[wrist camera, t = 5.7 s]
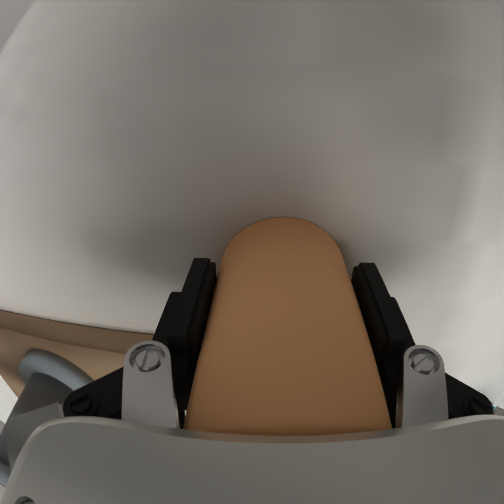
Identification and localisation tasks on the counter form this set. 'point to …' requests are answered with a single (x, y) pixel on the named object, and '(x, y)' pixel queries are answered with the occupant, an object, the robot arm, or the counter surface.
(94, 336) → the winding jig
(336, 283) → the tan oval solid
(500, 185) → the counter surface
